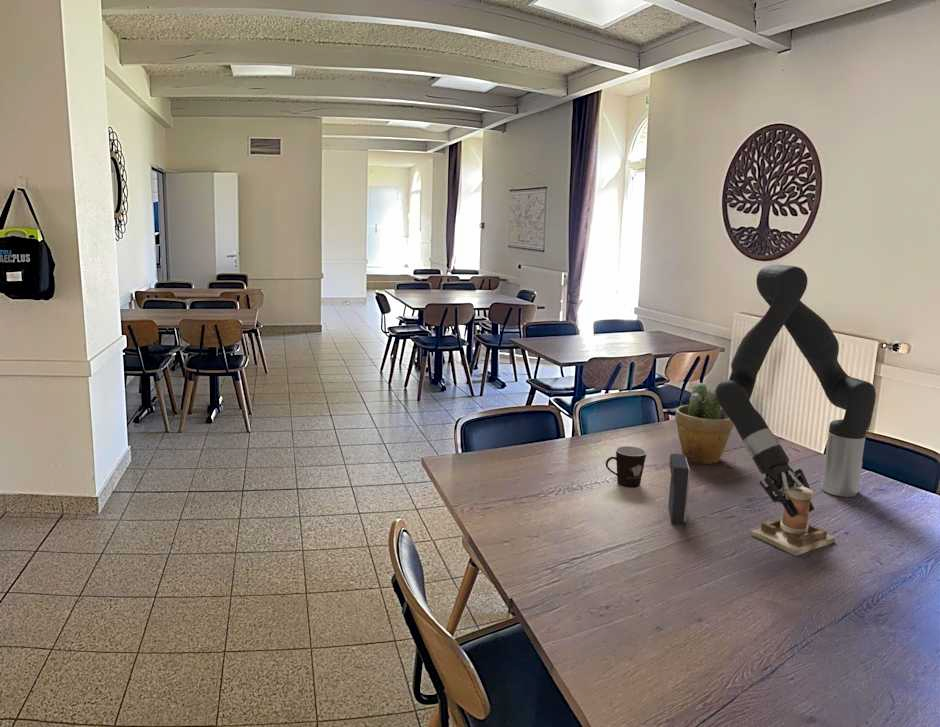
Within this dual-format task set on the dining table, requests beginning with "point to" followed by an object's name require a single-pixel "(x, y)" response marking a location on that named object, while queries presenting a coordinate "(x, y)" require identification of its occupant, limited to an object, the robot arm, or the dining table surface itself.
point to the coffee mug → (629, 465)
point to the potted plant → (703, 426)
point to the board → (792, 537)
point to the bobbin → (802, 503)
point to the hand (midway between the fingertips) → (802, 513)
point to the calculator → (678, 488)
